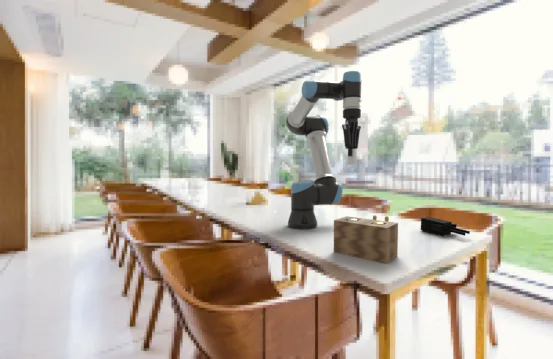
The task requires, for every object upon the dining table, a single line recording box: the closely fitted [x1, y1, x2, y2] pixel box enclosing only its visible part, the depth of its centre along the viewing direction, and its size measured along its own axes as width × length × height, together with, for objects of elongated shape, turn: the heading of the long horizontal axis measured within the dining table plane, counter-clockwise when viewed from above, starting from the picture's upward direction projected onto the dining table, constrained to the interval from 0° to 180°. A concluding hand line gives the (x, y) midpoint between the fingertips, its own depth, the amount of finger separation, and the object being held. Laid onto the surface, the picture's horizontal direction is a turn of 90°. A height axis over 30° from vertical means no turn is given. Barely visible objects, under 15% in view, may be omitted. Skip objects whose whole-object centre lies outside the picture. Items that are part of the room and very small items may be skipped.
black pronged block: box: [420, 216, 471, 237], centre depth 140 cm, size 11×6×20 cm
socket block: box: [333, 215, 399, 264], centre depth 112 cm, size 20×10×12 cm, turn 49°
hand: (351, 163), depth 134 cm, fingers closed
